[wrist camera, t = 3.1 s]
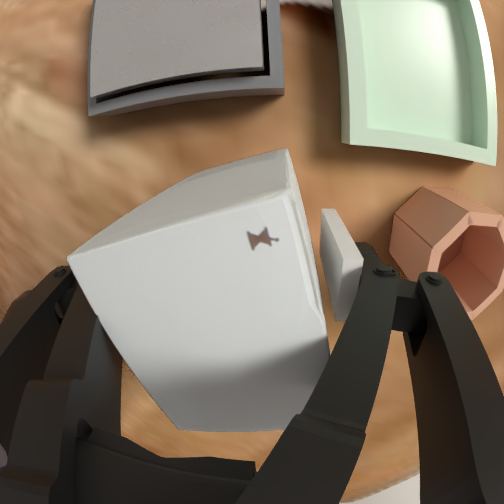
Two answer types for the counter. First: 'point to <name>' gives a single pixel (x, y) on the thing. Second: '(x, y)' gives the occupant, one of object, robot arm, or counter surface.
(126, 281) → the small box
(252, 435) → the counter surface
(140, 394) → the counter surface
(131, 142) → the counter surface
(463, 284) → the cup
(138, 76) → the grey flat square panel
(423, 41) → the mint green tray
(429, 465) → the robot arm
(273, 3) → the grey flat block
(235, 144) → the counter surface
